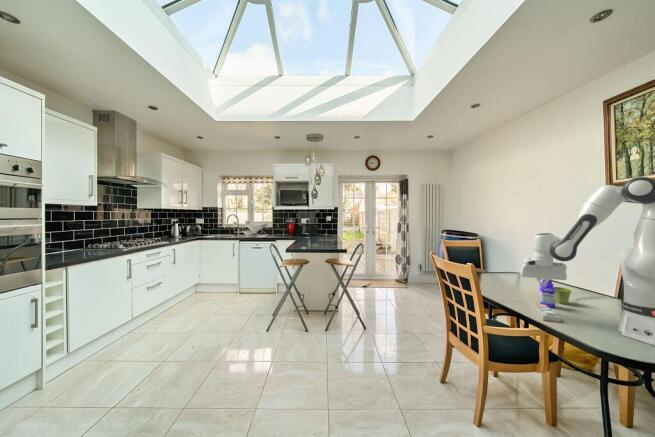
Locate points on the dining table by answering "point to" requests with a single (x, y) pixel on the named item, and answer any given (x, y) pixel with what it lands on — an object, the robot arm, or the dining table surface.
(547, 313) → the key sage
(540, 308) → the key slate
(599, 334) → the dining table surface
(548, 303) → the bottle
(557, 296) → the plant pot
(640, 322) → the robot arm
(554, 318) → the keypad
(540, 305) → the key rust
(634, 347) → the dining table surface
